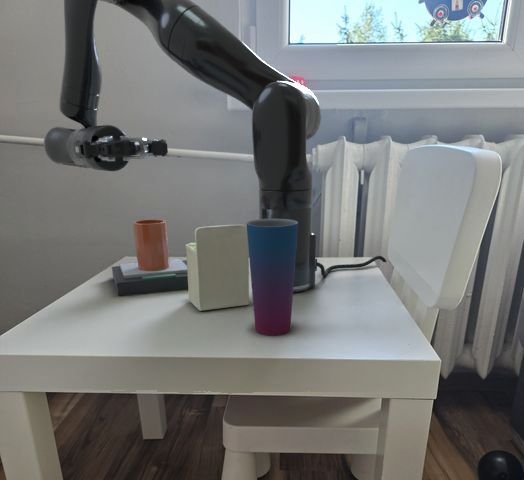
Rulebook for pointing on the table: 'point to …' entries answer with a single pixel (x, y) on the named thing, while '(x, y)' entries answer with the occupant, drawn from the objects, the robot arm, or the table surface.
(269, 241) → the cup
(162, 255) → the tumbler
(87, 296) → the table surface
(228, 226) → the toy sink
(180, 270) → the scale
